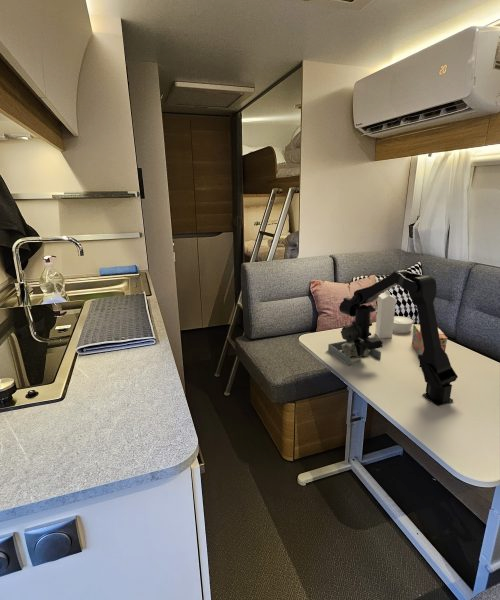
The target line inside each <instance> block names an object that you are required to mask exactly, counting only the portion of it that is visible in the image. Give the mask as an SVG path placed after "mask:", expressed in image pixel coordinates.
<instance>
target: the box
mask: <svg viewBox="0 0 500 600" xmlns="http://www.w3.org/2000/svg"><path fill="white" fill-rule="evenodd" d="M344 343H348V344H351V343H354V342H353V341H351V342H347V341H346V340H344V341H343V340H342V341H337V342H333V343H328V345H327V346H328V347H327V349H328V350H327V351H329V352H330V353H331V354H332V355H334V356H335V357H336V358H338V359H339V360H341V361H342V362H343V363H345V364H346V365H348V366H351V358H352V357H348V356H346V355H345V354H344V352H342V344H344ZM340 350H341V351H340ZM369 350H370V349H369ZM370 354H371V356H373V357H375V358H377V359H379V360H381V359H382V358H381V357H382V352H381V351H380V350H378V348H377V349H372V350H371V351H369V355H370Z"/></svg>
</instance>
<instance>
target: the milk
mask: <svg viewBox="0 0 500 600" xmlns="http://www.w3.org/2000/svg"><path fill="white" fill-rule="evenodd" d="M396 303H397V299H396V298H395V297H394V296H393V295H391V292H390V291H389V289H388V290H387V291H385V292H383V293H381V294H380V295H379V296H378V298H377V307H376V319H375V332H374V334H375V335H376V336H377V338H378V339H392V338H393V333H394V332H393V324H394V316H395V313H396V312H395V311H396Z"/></svg>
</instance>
